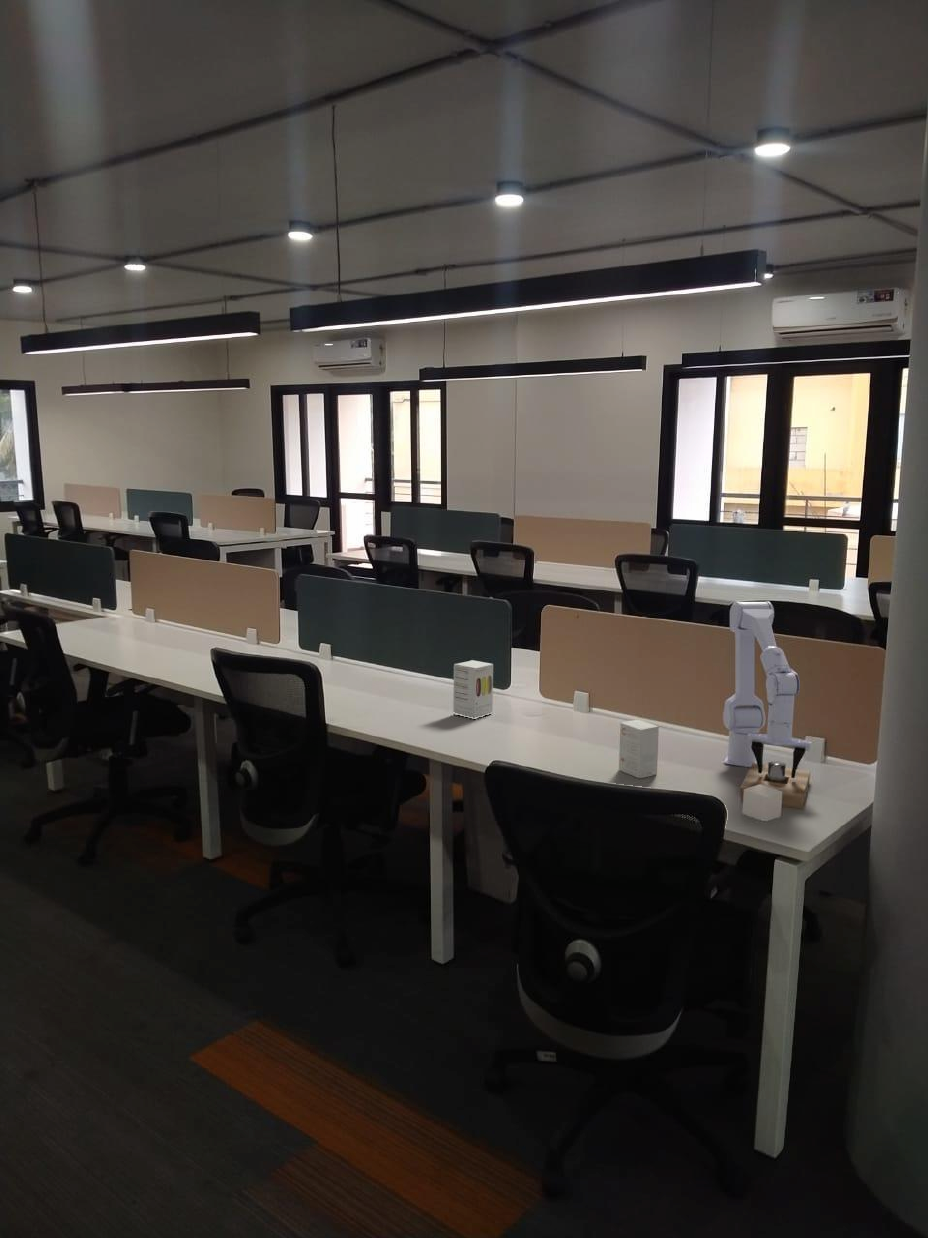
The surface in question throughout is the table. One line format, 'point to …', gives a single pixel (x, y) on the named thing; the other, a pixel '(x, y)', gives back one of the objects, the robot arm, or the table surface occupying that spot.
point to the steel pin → (776, 772)
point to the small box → (638, 748)
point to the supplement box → (473, 688)
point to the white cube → (762, 802)
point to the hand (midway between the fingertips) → (776, 774)
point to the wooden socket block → (780, 785)
